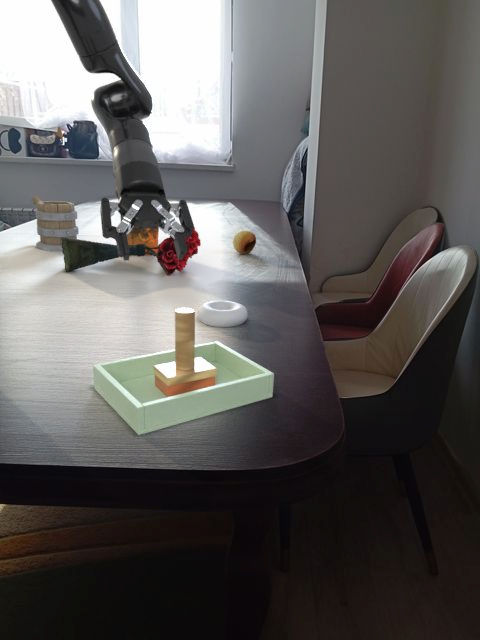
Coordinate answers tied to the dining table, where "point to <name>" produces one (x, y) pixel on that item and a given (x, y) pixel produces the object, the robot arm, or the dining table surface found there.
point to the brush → (184, 361)
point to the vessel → (142, 235)
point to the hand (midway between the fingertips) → (155, 257)
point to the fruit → (244, 241)
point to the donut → (222, 313)
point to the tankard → (54, 223)
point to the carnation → (94, 252)
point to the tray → (160, 411)
